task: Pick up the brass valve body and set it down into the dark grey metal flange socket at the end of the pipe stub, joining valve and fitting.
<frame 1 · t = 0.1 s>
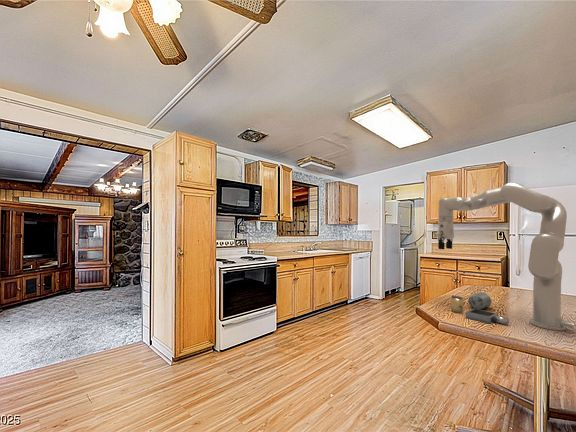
hand: (445, 248, 170), 31 cm above the table, fingers open, 9 cm apart
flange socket: (481, 318, 141), on the table
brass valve: (456, 311, 152), on the table
grey-teal rounded cylinder: (479, 308, 160), on the table
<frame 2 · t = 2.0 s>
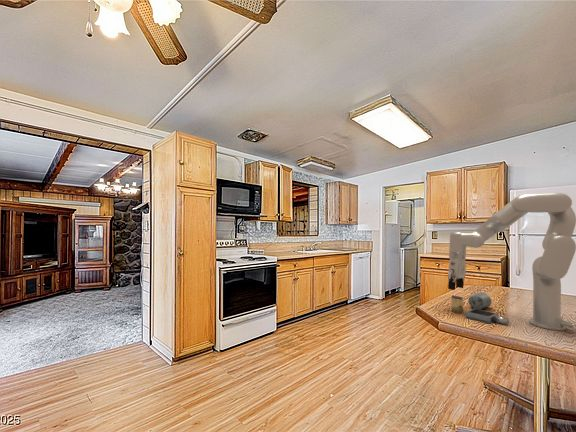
hand: (455, 288, 152), 12 cm above the table, fingers open, 9 cm apart
nothing on the table moved.
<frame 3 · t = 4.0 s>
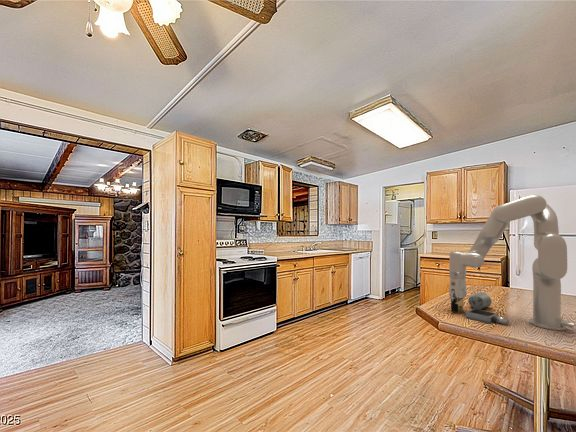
hand: (457, 309, 152), 1 cm above the table, fingers closed on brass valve, 5 cm apart
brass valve: (457, 311, 152), on the table, touching gripper
everything else where it was.
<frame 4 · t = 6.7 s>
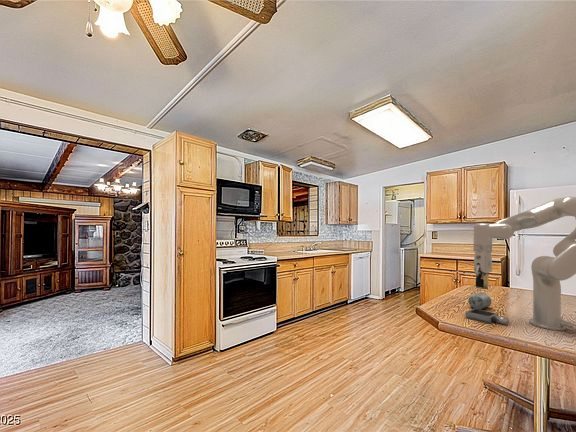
hand: (482, 286, 141), 16 cm above the table, fingers closed on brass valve, 5 cm apart
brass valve: (481, 287, 141), point 15 cm above the table, touching gripper
everything else where it was.
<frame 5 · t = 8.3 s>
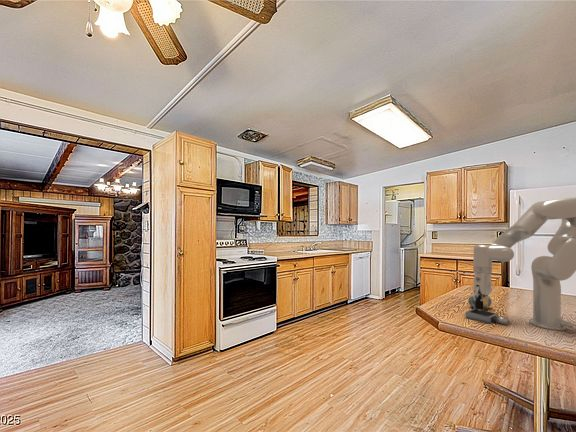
hand: (481, 307, 141), 5 cm above the table, fingers closed on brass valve, 5 cm apart
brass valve: (481, 309, 141), point 4 cm above the table, touching gripper
everything else where it was.
when the fingers open (4 cm above the table, at t = 9.5 s): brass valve drops 2 cm, resting on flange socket.
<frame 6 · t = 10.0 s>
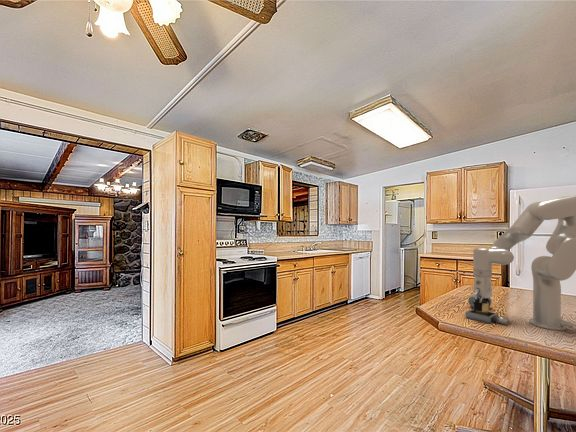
hand: (481, 308, 141), 5 cm above the table, fingers open, 9 cm apart
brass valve: (482, 316, 141), point 1 cm above the table, touching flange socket
everything else where it was.
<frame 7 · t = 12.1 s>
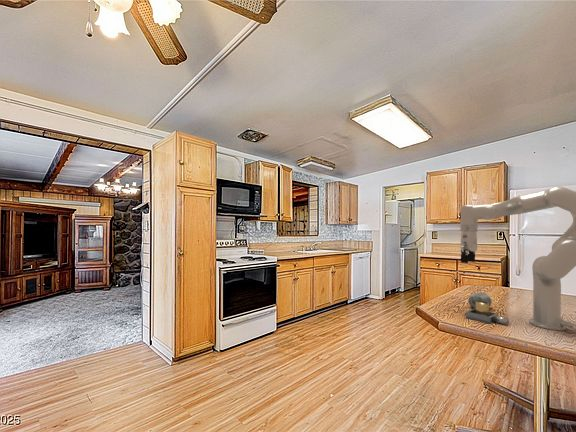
hand: (467, 262, 150), 26 cm above the table, fingers open, 9 cm apart
nothing on the table moved.
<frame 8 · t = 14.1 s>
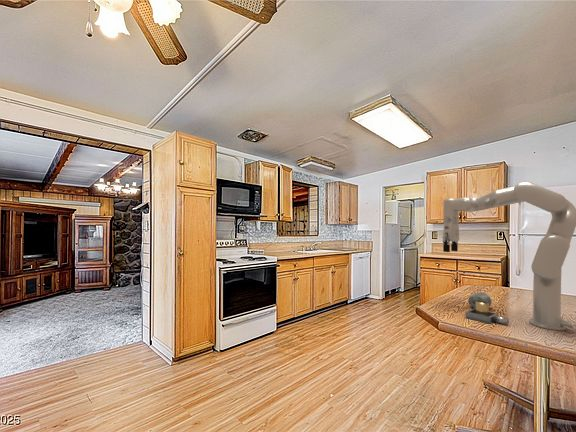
hand: (450, 251, 163), 30 cm above the table, fingers open, 9 cm apart
nothing on the table moved.
at the end: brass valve 0.1 cm off-centre on the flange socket, point 1.0 cm above the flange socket's base; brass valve tilted 0°; the gripper is holding nothing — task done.
